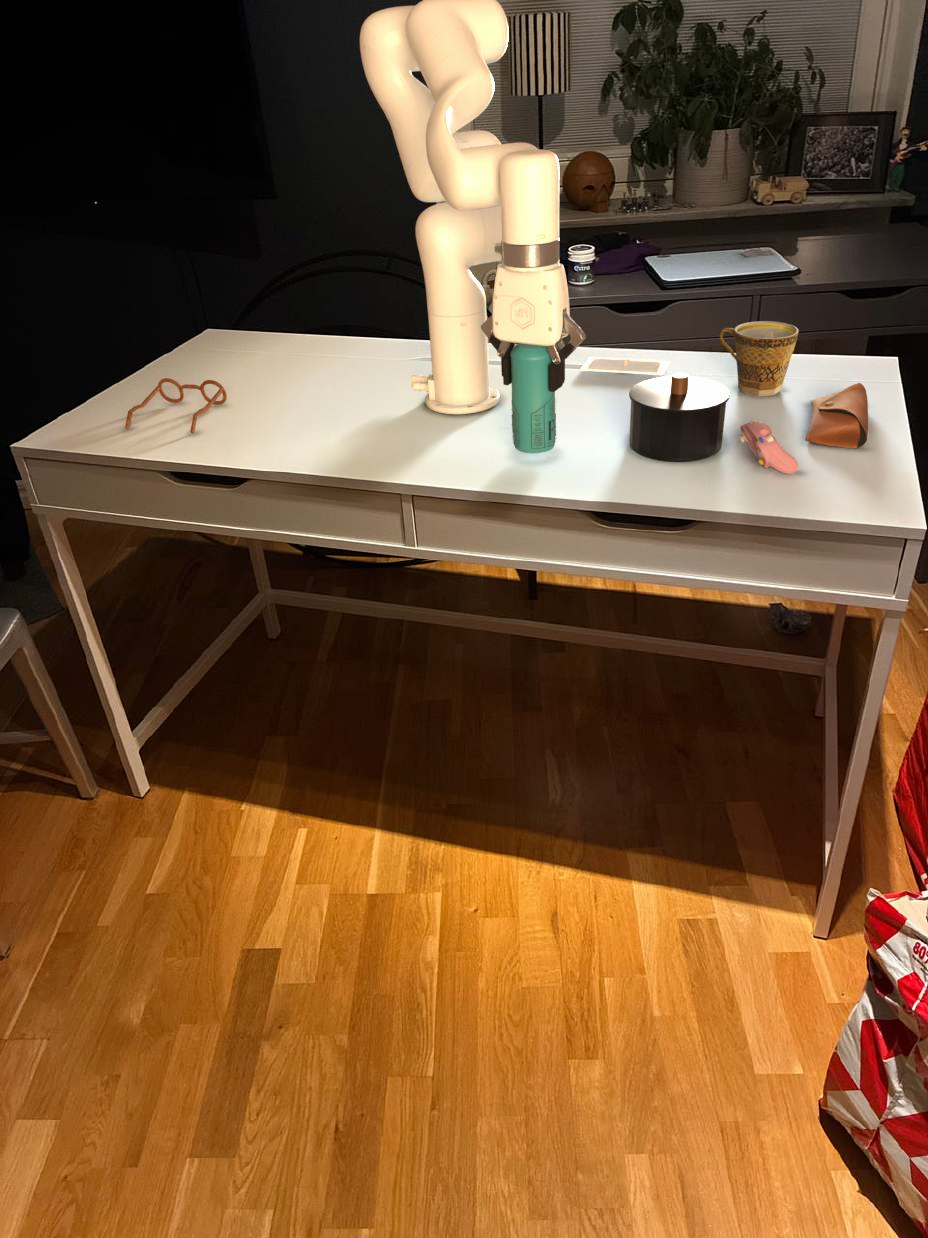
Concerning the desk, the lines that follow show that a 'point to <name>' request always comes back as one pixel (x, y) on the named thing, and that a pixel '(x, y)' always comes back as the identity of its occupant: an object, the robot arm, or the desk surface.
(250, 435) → the desk surface
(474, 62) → the robot arm
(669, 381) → the lid
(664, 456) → the black short cylinder
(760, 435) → the pink cartoon race car
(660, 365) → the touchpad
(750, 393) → the ceramic cup
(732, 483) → the desk surface
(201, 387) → the glasses
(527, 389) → the beverage bottle
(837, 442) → the sunglasses case
